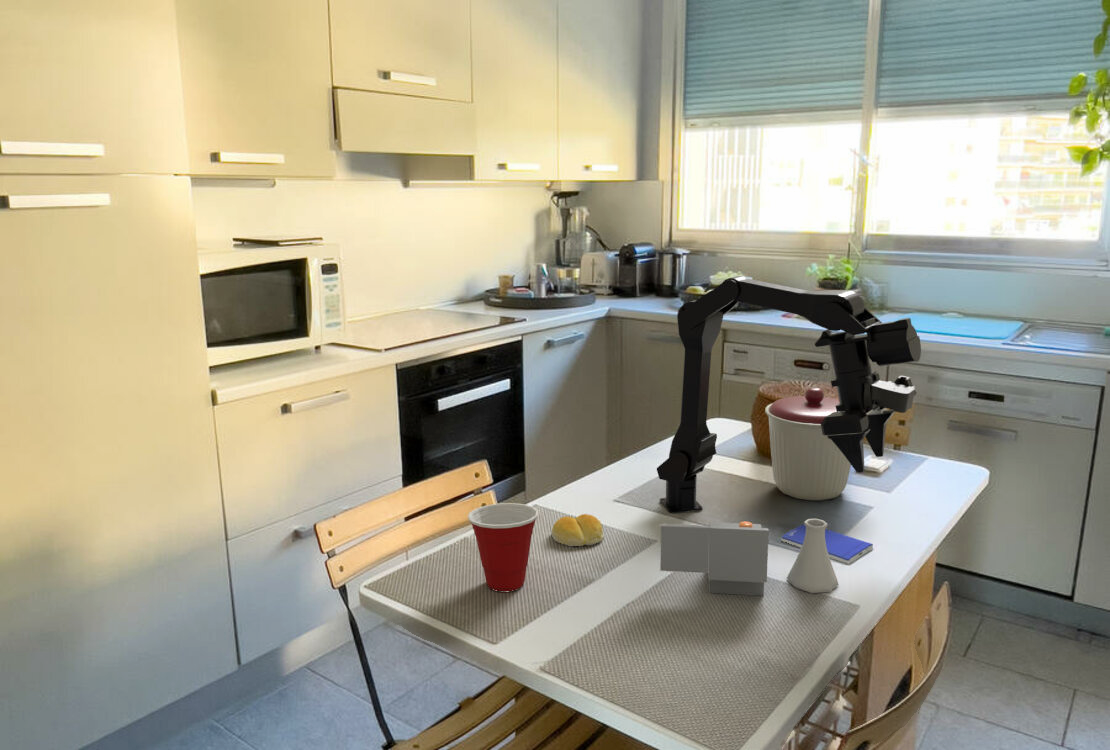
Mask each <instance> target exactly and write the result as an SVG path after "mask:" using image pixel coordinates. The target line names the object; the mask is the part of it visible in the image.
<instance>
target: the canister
mask: <svg viewBox="0 0 1110 750" xmlns="http://www.w3.org/2000/svg"><path fill="white" fill-rule="evenodd" d="M839 403H840V402H839V398H838V399H837V398H833V397H826V396H825V393H824V390H822V388H819V387H816V386H815V387H809V388H807V389H806V390H805V392H804V395H796V396H795V395H794V396H788V397H783V398H780V399H776V400H775V401H774V402H772V403H769V404H767V406H765V410H764V411H765V412H764V413H765V414H766V415H767V417H768V427H769V428H768V429H769V442H770V443H769V446H770V455H771V465H772V476H773V477H772V478H773V480H774V484H775V486H776V487H777V489H779V491H781V492H782V493H783V494H785V495H787V496H789V497H791V498H792V497H793V498H796V499H798V500H799V499H800V500H805V501H826V500H830V499H831V500H832V499H834V498H837V497H838V496H840V495H841V494H842V493H843V491H845V488H846V487H847V484H848V479H849V474H850V471H851V467H852V465H851V464H850V463H849V461H848V460H847V459H846V457H845V456H844V454H843V453H842V452H841V451H840V449H839V448H838V447H837V446H836V445H835V443H834V442H833V441H832V440H831V439H828V437H827V435H823V433H822V428H821V422H822V421H823V419H824V418H825V417H826V416H828V415H829V414H831V413H833V412H837V411H836V405H838V404H839ZM841 412H842V411H841Z"/></svg>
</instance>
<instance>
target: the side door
mask: <svg viewBox="0 0 1110 750" xmlns="http://www.w3.org/2000/svg"><path fill="white" fill-rule="evenodd" d="M769 531H770V530H769V528H768V527H762V528H748V527H723V526H710V530H709V525H695V524H694V525H692V524H691V525H690V524H676V523H675V524H669V523H661V524H660V559H659V560H660V563H659V564H660V569H659V571H660V572H678V573H679V572H681V573H698V574H699V573H700V574H701V573H702V574H707V577H708V578H707V580H708V579H710V580H730V581H749V582H765V583H767V582H768V557H769V556H768V555H769V554H768V553H769ZM708 553H709V572H708Z"/></svg>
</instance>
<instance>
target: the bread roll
mask: <svg viewBox="0 0 1110 750" xmlns="http://www.w3.org/2000/svg"><path fill="white" fill-rule="evenodd" d="M551 536H552V539H553V540H554V541H557V542H556V543H558V542H559V544H560V543H561V544H560V545H563V544H565V545H564V546H566V545H569V546H568V547H572V546H579V547H583V546H594V545H596V543H597V544H598V543H601V542H603V540H604V539H605V536H604V530H603V524H602V522H601V520H599V519H598V518H597V517H596V516H594V515H591V514H586V513H583V514H580V515H578V516H576V517H575V518H574V517H572V516H562V517H561V518H558V519H557V520H556V521H555V522H554V524H553V526H552V529H551ZM593 544H594V545H593Z"/></svg>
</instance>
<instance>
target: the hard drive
mask: <svg viewBox="0 0 1110 750" xmlns="http://www.w3.org/2000/svg"><path fill="white" fill-rule="evenodd" d="M805 534H806V526H805V525H804V523H803V524H800V525H799V526H797V527H795V528H793V529H792V530H790V531H788V532H786V533H784V534H783V535H782V536H781V542H782V541H783V543H785V542H787V543H786V544H788V543H789V545H791V544H792V546H794V545H795V546H794V547H797V548H800V549H801V548H802V545H803V542H804V538H805ZM825 541H826V548H827V551H828V554H829V557H830V559H833V560H836V561H839V562H842V563H845V564H848V565H849V564H851V563H853V562H854V561H855V560H856V559H858V558H860V557H861V556H863V555H864V553H865V554H867V553H868V552H870V551H871V550H873V548H874V547H873V546H874V544H873V543H870V542H869V541H868V542H867V541H864V540H861V539H858V538H854V537H851V536H849V535H845V534H842V533H839V532H836V531H833V530H829V529H827V528H825ZM870 549H871V550H870Z"/></svg>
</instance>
